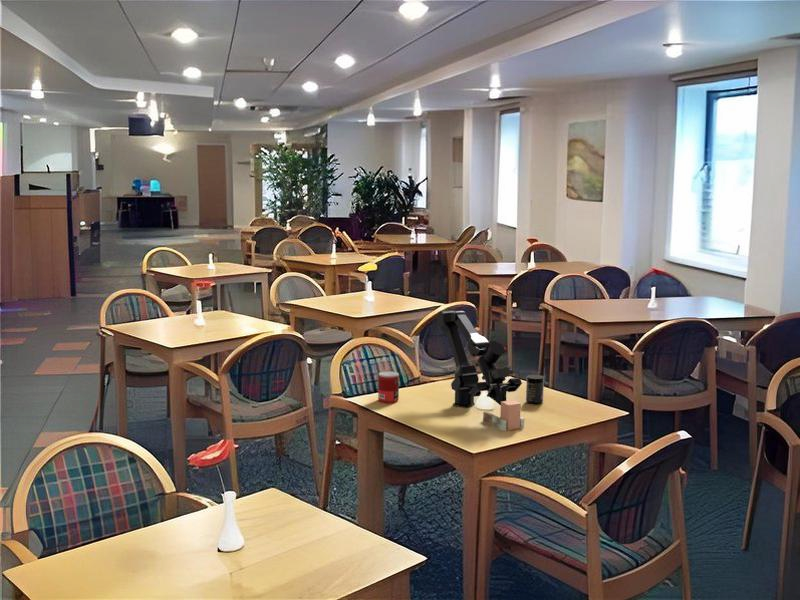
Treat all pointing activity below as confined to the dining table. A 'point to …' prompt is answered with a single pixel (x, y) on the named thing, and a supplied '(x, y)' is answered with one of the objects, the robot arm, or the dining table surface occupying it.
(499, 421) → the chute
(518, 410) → the block
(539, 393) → the supplement container
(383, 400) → the canned food
